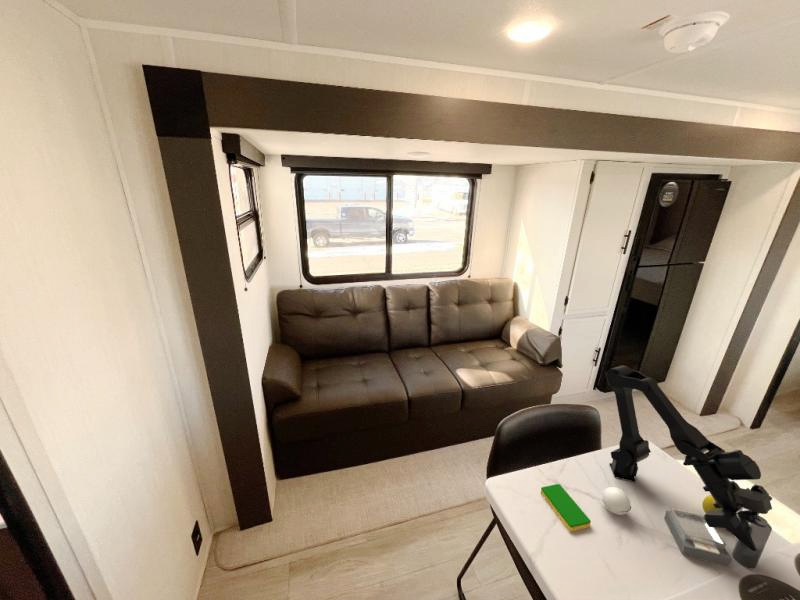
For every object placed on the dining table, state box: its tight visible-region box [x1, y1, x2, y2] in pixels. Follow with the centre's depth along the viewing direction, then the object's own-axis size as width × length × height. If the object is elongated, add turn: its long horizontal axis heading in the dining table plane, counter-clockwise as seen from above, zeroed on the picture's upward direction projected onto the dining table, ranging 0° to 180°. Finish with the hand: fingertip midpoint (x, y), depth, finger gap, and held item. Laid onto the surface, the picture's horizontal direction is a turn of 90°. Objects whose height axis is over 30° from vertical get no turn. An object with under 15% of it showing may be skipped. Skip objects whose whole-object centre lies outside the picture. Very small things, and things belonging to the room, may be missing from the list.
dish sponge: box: [540, 483, 592, 532], centre depth 99 cm, size 7×14×2 cm, turn 12°
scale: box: [663, 507, 733, 568], centre depth 89 cm, size 10×11×5 cm
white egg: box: [601, 486, 632, 516], centre depth 98 cm, size 10×7×7 cm
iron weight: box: [731, 515, 773, 570], centre depth 83 cm, size 4×4×14 cm
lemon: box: [701, 494, 722, 514], centre depth 95 cm, size 6×6×8 cm
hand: (758, 546), depth 81 cm, fingers closed on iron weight, 4 cm apart
